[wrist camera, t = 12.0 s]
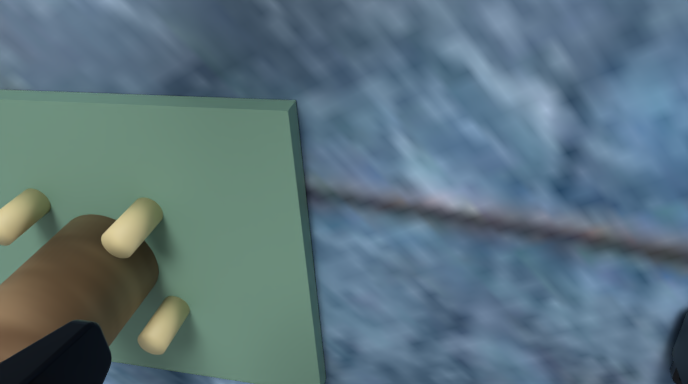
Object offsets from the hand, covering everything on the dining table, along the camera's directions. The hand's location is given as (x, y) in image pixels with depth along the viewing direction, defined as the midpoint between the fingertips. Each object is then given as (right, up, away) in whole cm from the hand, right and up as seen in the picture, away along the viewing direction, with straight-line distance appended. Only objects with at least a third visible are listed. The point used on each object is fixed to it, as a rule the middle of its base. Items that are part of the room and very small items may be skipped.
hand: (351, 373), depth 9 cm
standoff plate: (-11, 0, +19) cm, 22 cm away
